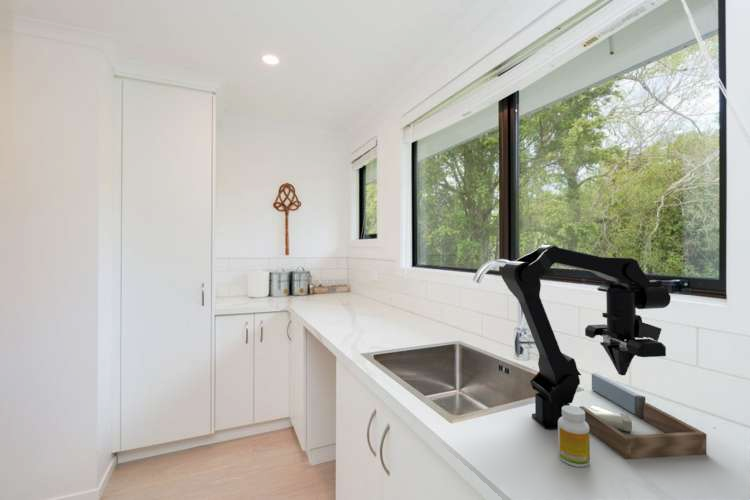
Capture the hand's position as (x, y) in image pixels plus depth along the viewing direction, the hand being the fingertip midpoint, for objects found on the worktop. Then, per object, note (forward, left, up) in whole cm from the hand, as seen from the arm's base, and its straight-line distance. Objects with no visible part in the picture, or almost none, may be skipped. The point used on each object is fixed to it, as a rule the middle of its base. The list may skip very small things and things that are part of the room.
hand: (622, 374), depth 84 cm
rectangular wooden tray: (-3, -7, -10) cm, 13 cm away
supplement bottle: (-22, -14, -11) cm, 28 cm away
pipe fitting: (-6, -2, -11) cm, 13 cm away
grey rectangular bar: (+5, +8, -10) cm, 14 cm away
